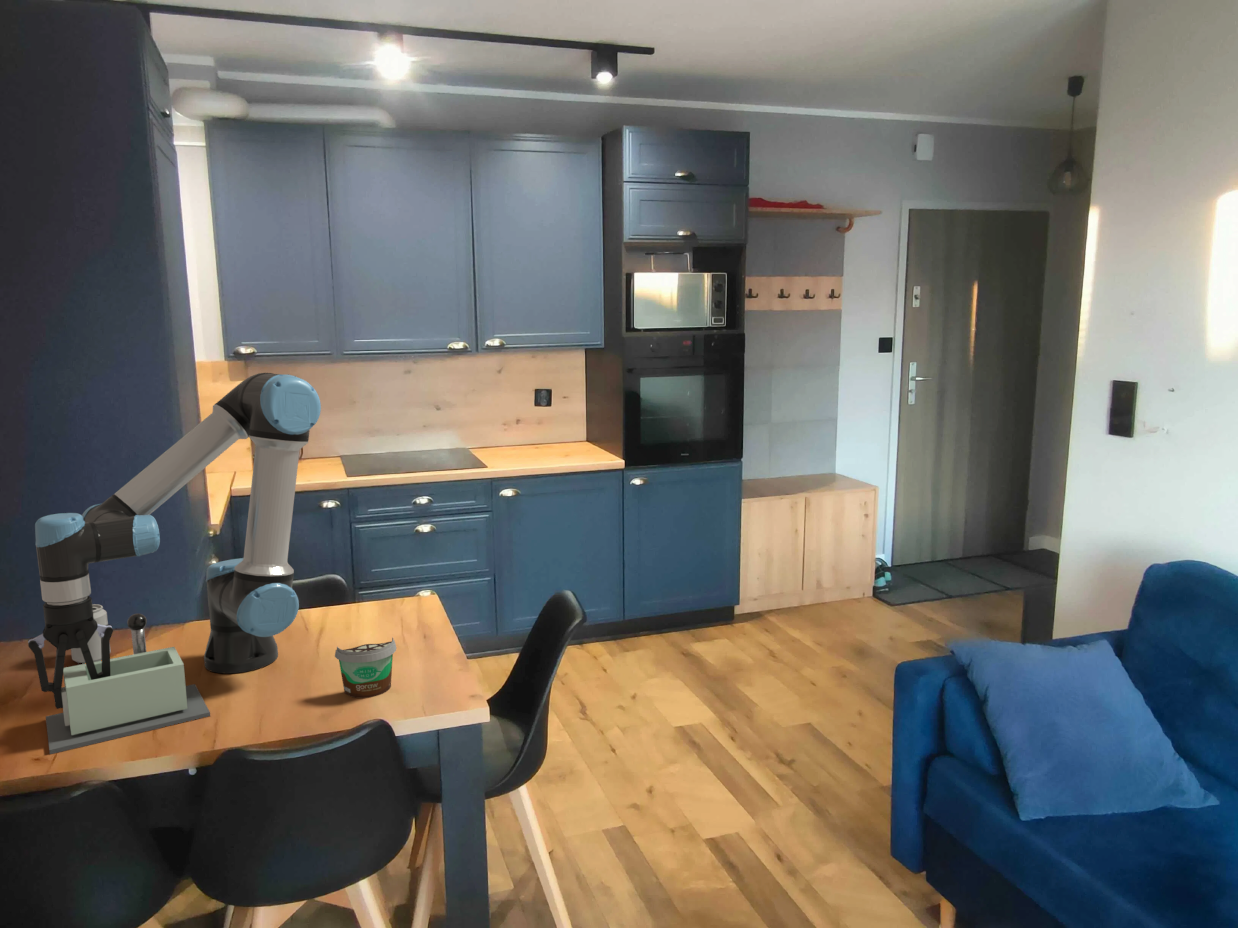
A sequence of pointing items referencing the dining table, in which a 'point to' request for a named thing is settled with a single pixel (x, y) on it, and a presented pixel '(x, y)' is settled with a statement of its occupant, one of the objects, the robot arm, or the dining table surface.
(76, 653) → the can
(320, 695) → the dining table surface
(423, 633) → the dining table surface
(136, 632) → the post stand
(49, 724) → the rubber mat
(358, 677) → the food container
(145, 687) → the green slotted block
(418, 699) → the dining table surface
